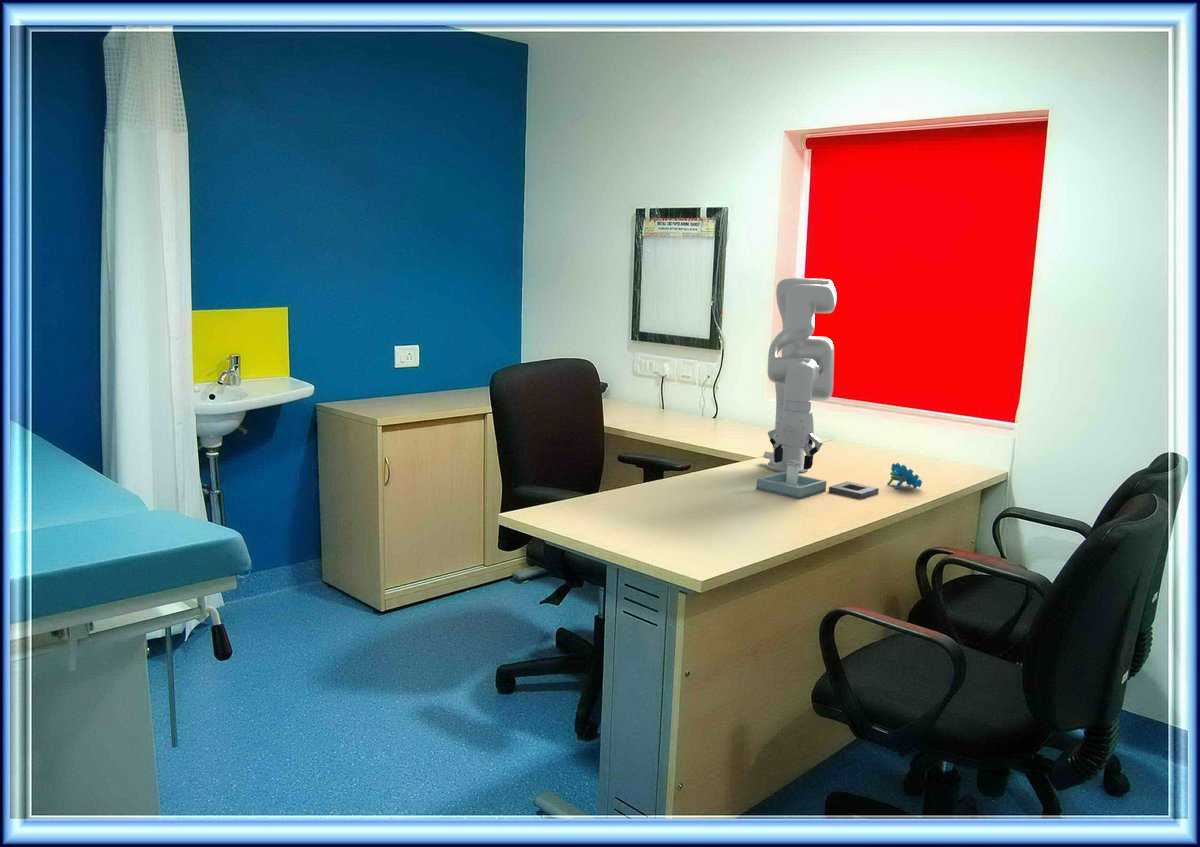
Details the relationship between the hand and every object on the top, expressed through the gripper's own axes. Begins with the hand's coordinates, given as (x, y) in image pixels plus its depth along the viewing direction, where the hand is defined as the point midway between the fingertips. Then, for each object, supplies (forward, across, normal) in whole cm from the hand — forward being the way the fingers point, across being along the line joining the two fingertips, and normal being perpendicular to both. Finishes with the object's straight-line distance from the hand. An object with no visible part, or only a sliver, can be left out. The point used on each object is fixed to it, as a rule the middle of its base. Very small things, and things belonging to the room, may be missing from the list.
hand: (792, 465), depth 254 cm
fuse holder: (+7, +14, +11) cm, 19 cm away
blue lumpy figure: (+8, +20, +29) cm, 36 cm away
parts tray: (+7, +1, -1) cm, 7 cm away
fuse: (+6, +1, -1) cm, 6 cm away
